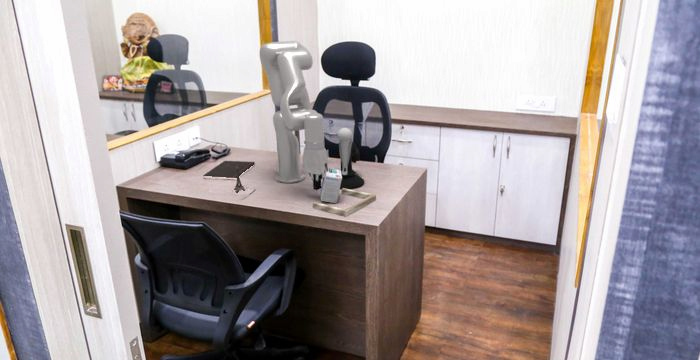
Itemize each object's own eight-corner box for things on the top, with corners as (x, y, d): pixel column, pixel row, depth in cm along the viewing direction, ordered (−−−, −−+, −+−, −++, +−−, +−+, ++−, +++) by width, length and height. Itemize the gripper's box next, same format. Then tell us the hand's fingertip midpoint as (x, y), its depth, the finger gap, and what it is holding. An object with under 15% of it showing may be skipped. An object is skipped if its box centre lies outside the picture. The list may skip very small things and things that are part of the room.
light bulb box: (320, 191, 214) (324, 166, 211) (336, 194, 215) (341, 169, 211) (320, 201, 204) (325, 175, 201) (337, 203, 205) (342, 178, 201)
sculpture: (325, 188, 221) (322, 131, 213) (338, 171, 243) (336, 118, 235) (360, 190, 218) (359, 132, 210) (370, 172, 240) (370, 119, 231)
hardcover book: (203, 180, 239) (203, 175, 238) (225, 165, 260) (224, 160, 259) (236, 181, 236) (235, 176, 235) (255, 166, 257) (254, 161, 256)
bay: (312, 208, 201) (312, 203, 200) (343, 192, 216) (343, 188, 216) (346, 216, 192) (346, 211, 191) (375, 199, 207) (375, 195, 207)
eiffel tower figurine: (243, 201, 211) (240, 170, 207) (221, 199, 214) (217, 168, 210) (259, 189, 225) (256, 159, 221) (238, 187, 228) (235, 158, 223)
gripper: (294, 144, 206) (297, 188, 212) (323, 149, 197) (325, 195, 203) (306, 140, 212) (309, 183, 218) (335, 145, 203) (337, 189, 209)
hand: (317, 188), depth 211 cm, fingers closed
